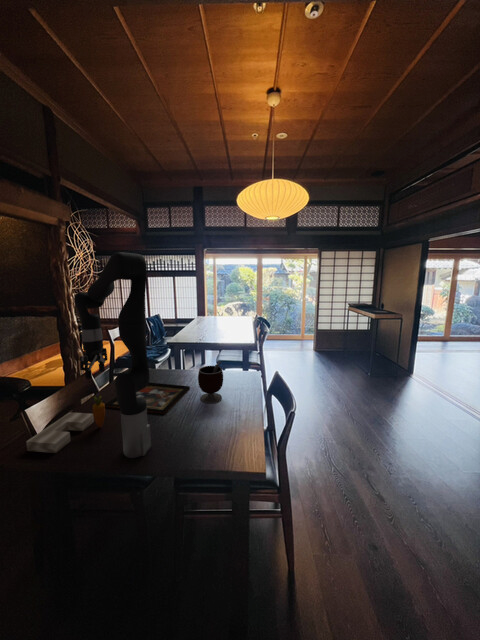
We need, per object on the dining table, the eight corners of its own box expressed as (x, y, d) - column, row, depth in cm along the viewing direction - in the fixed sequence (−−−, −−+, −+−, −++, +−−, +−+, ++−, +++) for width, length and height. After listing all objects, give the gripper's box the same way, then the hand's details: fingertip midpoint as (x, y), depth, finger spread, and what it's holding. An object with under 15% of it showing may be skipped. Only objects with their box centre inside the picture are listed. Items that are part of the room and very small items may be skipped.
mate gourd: (211, 407, 134) (210, 370, 130) (193, 399, 142) (192, 365, 139) (230, 396, 146) (230, 363, 143) (212, 390, 154) (212, 358, 151)
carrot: (92, 427, 115) (89, 396, 113) (104, 423, 118) (102, 392, 116) (96, 431, 112) (93, 399, 109) (108, 427, 115) (105, 396, 113)
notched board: (94, 421, 120) (93, 413, 119) (55, 453, 98) (54, 443, 97) (70, 420, 121) (69, 412, 120) (27, 450, 99) (26, 441, 99)
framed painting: (191, 386, 160) (191, 382, 160) (171, 416, 126) (171, 411, 125) (134, 384, 164) (134, 380, 163) (99, 413, 129) (98, 408, 129)
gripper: (89, 343, 101) (92, 381, 104) (110, 335, 115) (113, 369, 118) (71, 342, 102) (75, 381, 104) (95, 334, 116) (98, 369, 118)
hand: (95, 374), depth 111 cm, fingers open, 8 cm apart
